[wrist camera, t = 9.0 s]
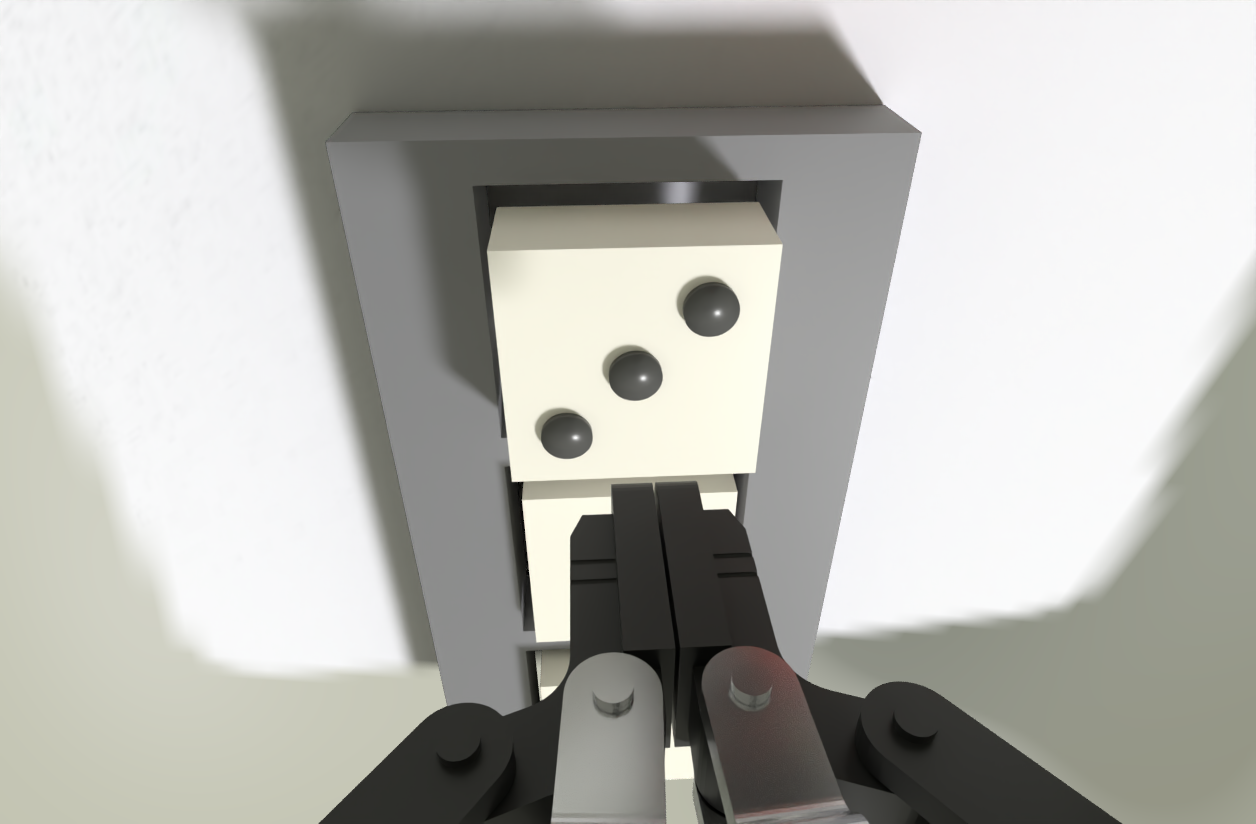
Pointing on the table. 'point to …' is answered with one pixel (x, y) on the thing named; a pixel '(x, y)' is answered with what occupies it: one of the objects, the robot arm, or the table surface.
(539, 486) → the tile one
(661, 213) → the tile three
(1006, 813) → the robot arm
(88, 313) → the table surface
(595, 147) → the grey tile tray
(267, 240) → the table surface
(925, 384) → the table surface
